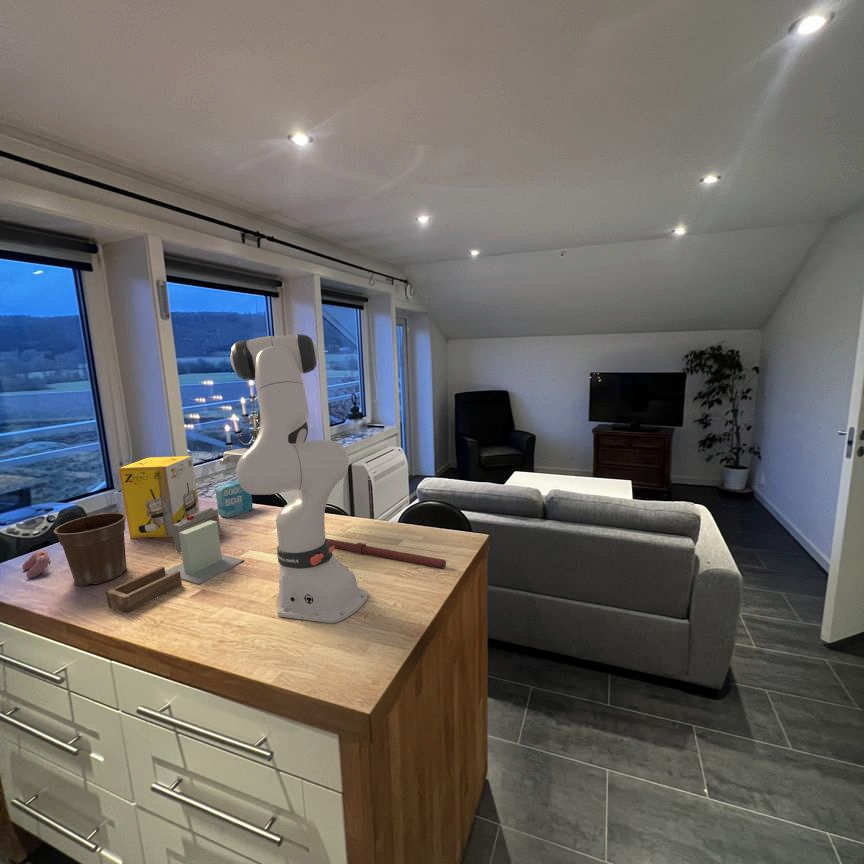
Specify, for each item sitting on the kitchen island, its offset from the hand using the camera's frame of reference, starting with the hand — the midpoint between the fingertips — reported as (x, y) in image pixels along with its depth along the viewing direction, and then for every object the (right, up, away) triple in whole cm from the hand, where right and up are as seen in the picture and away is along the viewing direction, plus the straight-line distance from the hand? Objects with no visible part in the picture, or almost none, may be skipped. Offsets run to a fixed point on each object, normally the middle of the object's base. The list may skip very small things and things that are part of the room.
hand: (231, 463), depth 138 cm
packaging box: (-35, -26, +25) cm, 50 cm away
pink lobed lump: (-55, -32, -5) cm, 64 cm away
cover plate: (-5, -29, -7) cm, 31 cm away
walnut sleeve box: (-12, -33, -21) cm, 41 cm away
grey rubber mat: (-5, -30, -7) cm, 31 cm away
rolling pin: (+45, -28, -4) cm, 53 cm away
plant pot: (-33, -32, -10) cm, 47 cm away
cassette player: (-16, -27, +11) cm, 34 cm away
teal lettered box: (-15, -23, +39) cm, 47 cm away
